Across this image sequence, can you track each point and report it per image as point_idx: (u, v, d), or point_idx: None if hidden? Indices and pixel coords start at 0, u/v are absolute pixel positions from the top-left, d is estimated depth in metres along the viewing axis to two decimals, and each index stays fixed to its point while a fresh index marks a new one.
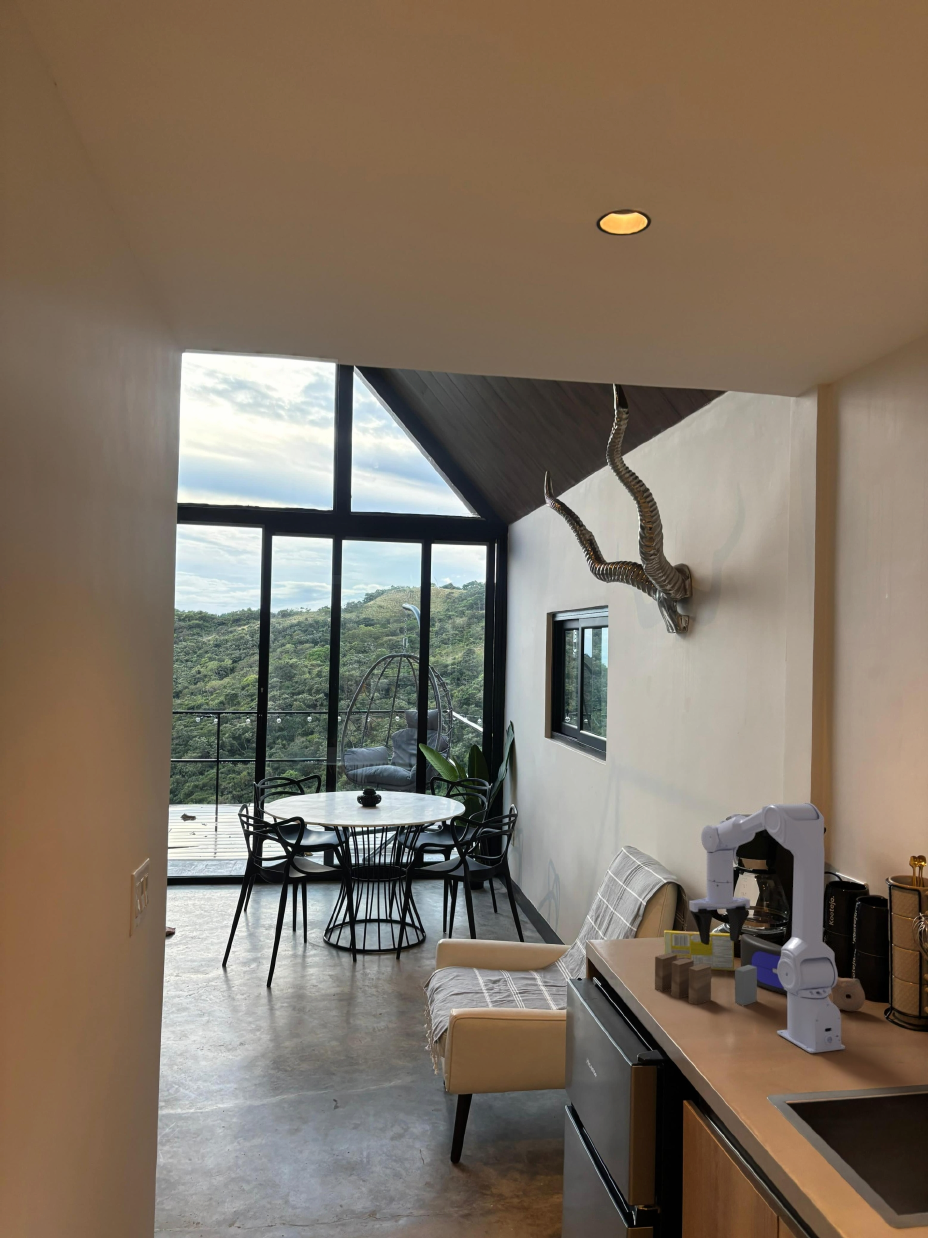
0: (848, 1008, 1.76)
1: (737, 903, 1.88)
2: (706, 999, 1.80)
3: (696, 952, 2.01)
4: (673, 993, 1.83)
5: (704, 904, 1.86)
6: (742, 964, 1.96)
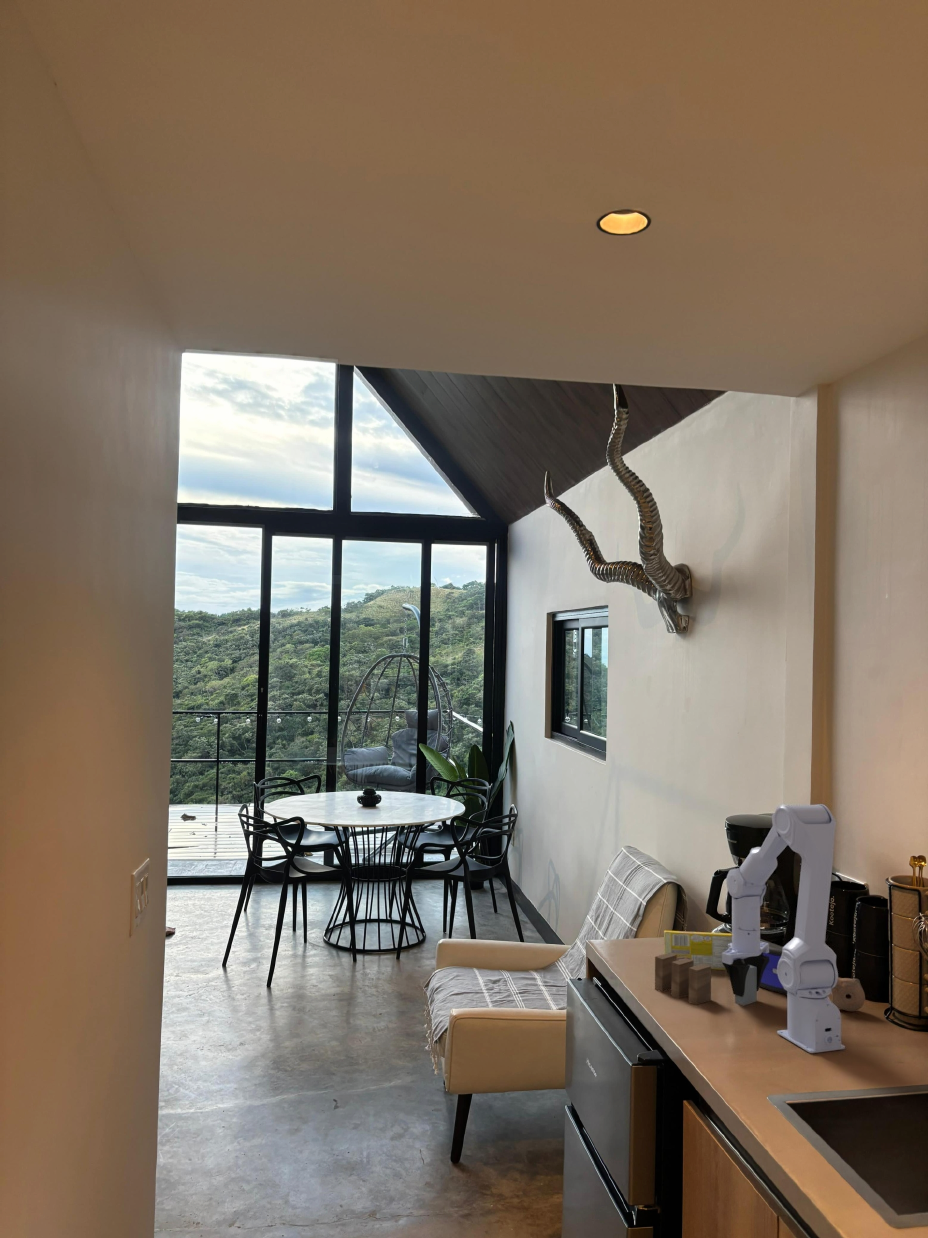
0: (848, 1008, 1.76)
1: (763, 950, 1.81)
2: (706, 999, 1.80)
3: (696, 952, 2.01)
4: (673, 993, 1.83)
5: (738, 955, 1.77)
6: None
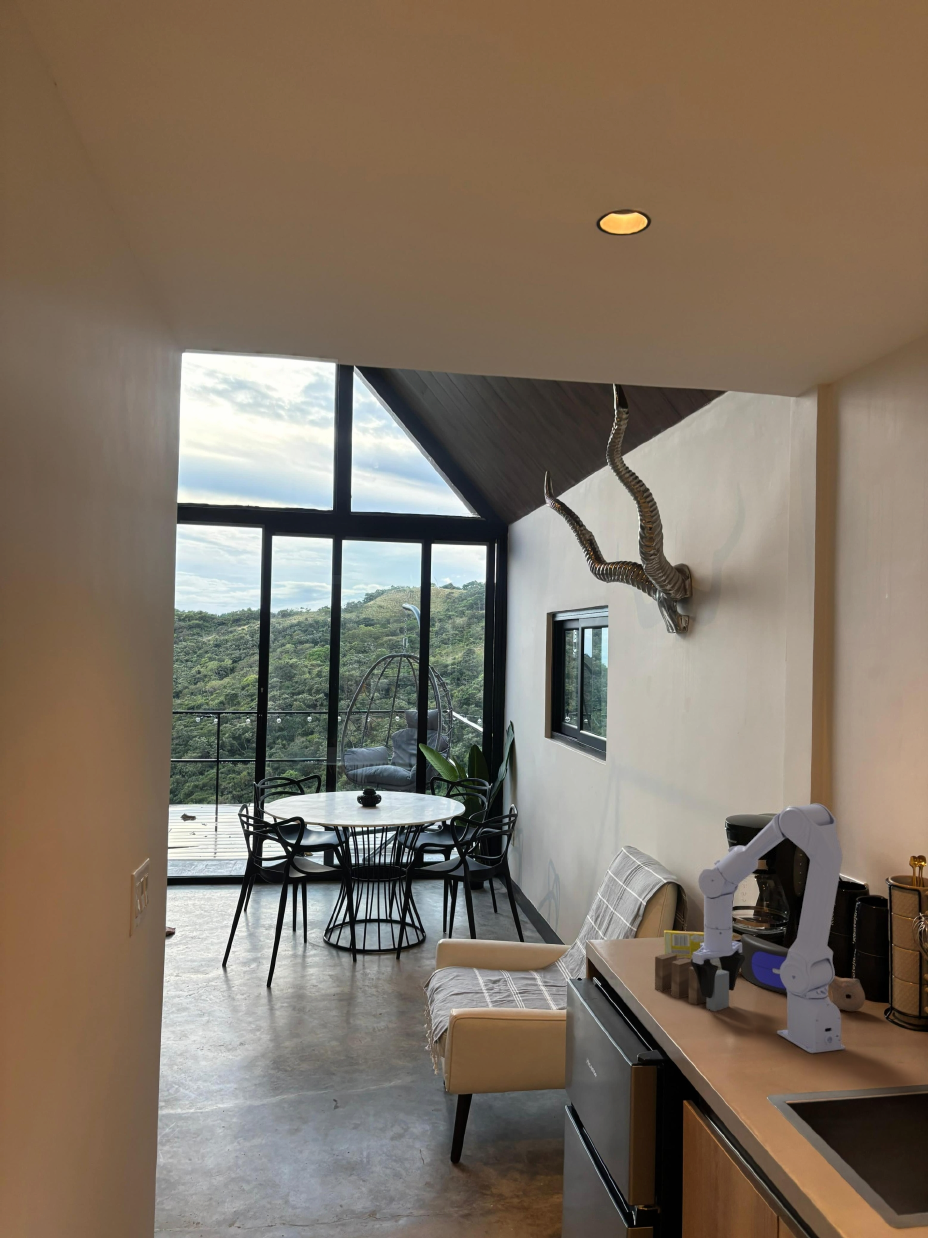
0: (848, 1008, 1.76)
1: (735, 949, 1.78)
2: (706, 999, 1.80)
3: None
4: (673, 993, 1.83)
5: (709, 955, 1.73)
6: (742, 964, 1.96)
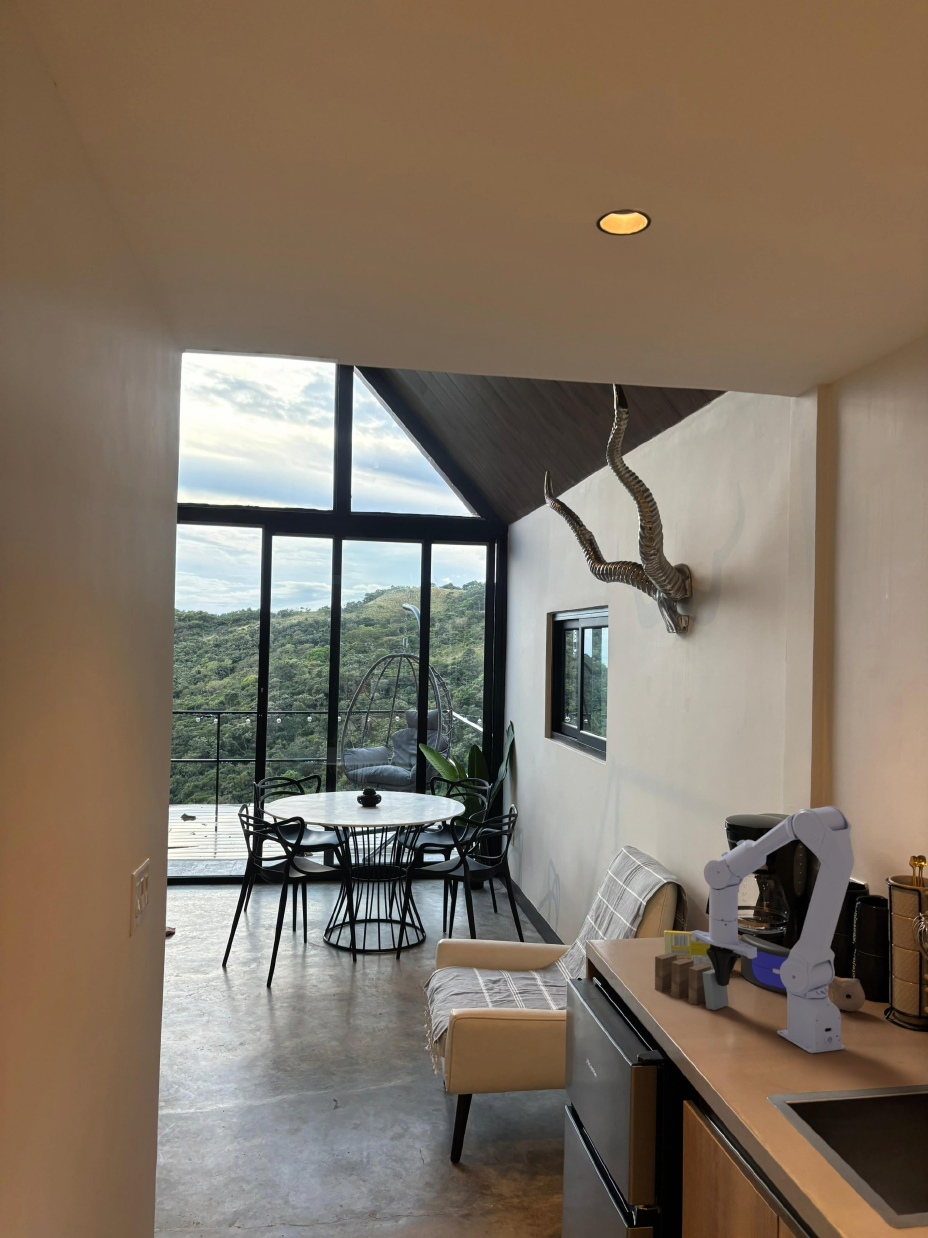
0: (848, 1008, 1.76)
1: (730, 946, 1.73)
2: None
3: (696, 952, 2.01)
4: (673, 993, 1.83)
5: (699, 936, 1.80)
6: (742, 964, 1.96)
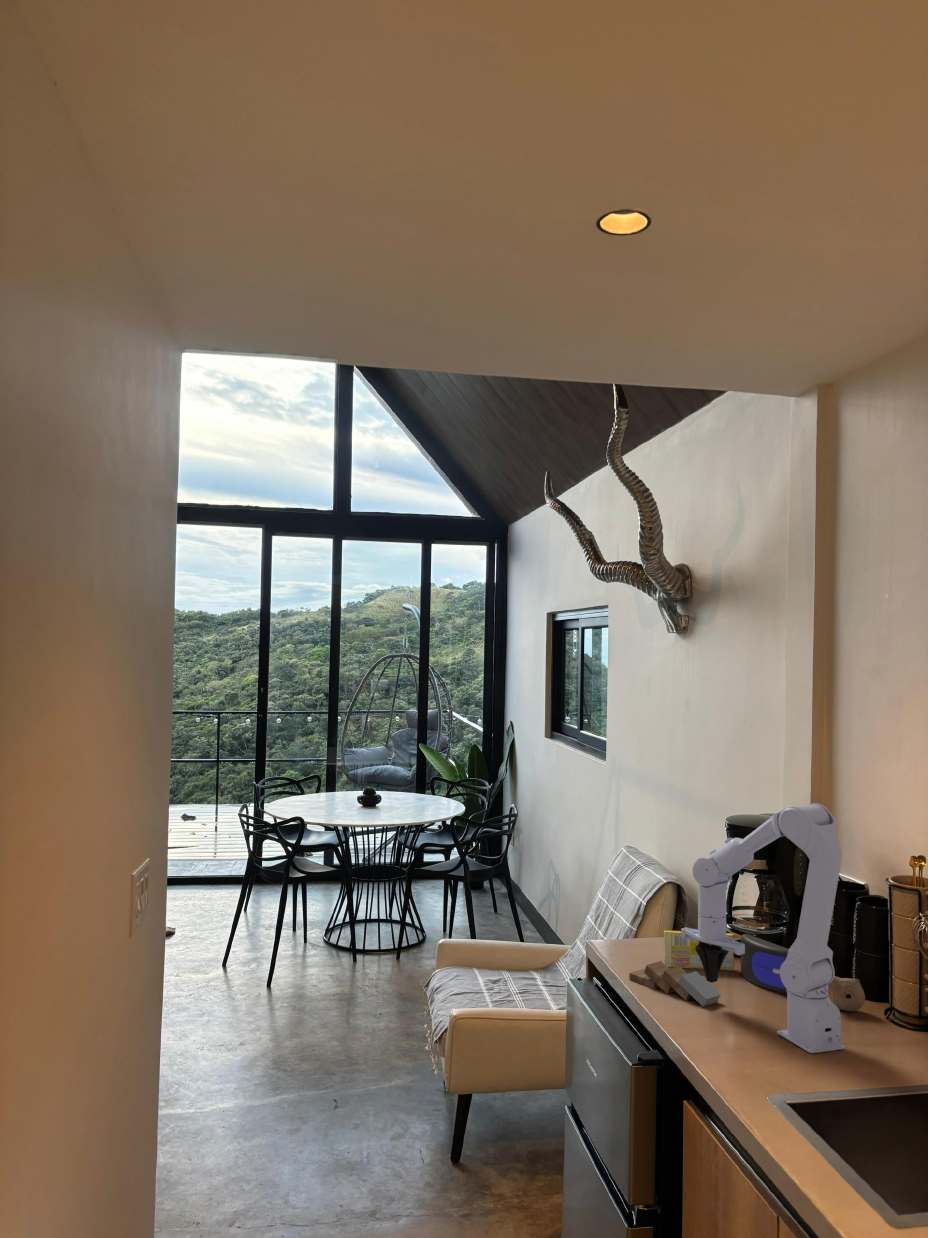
0: (848, 1008, 1.76)
1: (718, 943, 1.75)
2: None
3: (696, 952, 2.01)
4: (665, 989, 1.84)
5: (688, 933, 1.82)
6: (742, 964, 1.96)
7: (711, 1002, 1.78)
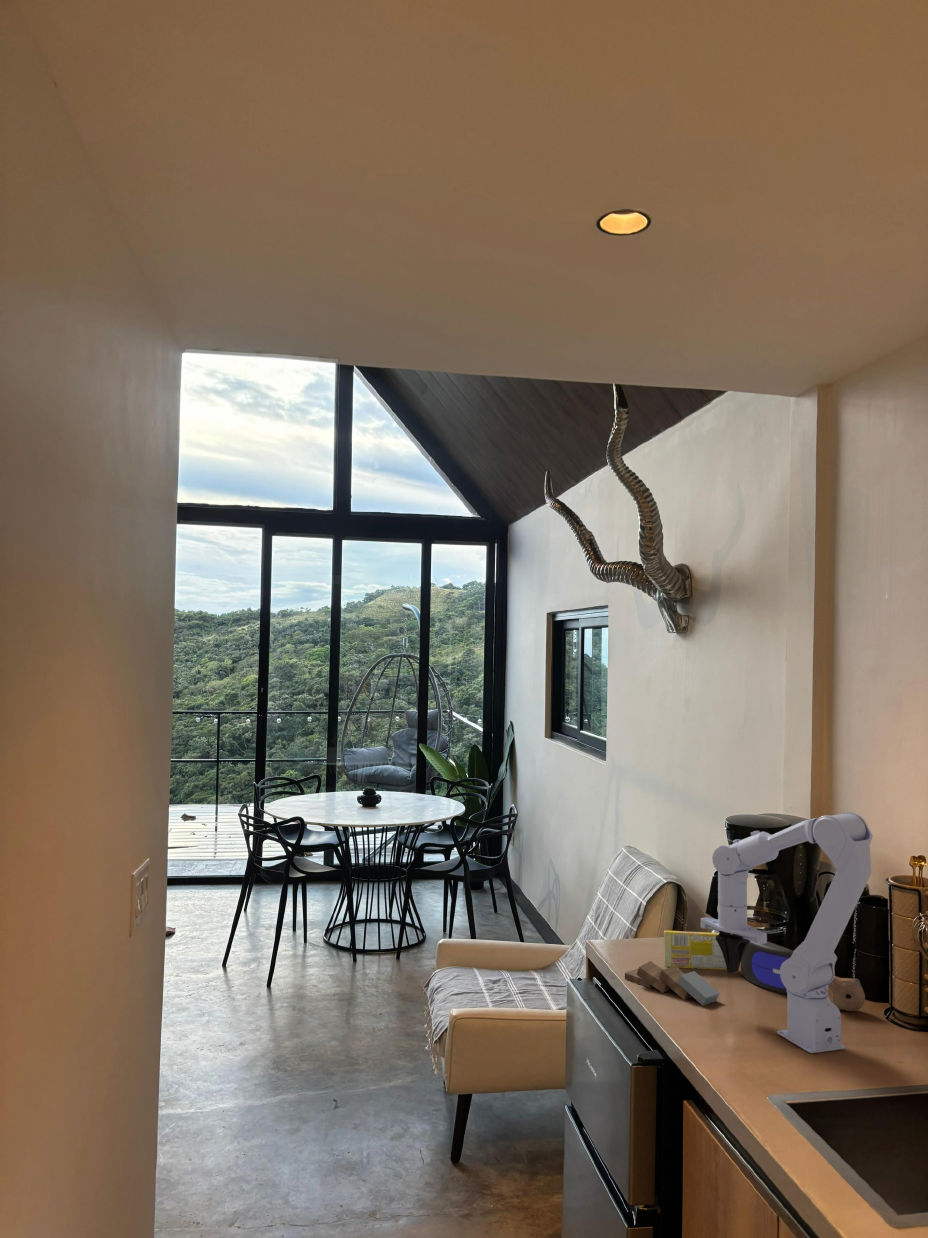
0: (848, 1008, 1.76)
1: (739, 932, 1.72)
2: None
3: (696, 952, 2.01)
4: (661, 989, 1.84)
5: (708, 922, 1.78)
6: (742, 964, 1.96)
7: (710, 1001, 1.79)
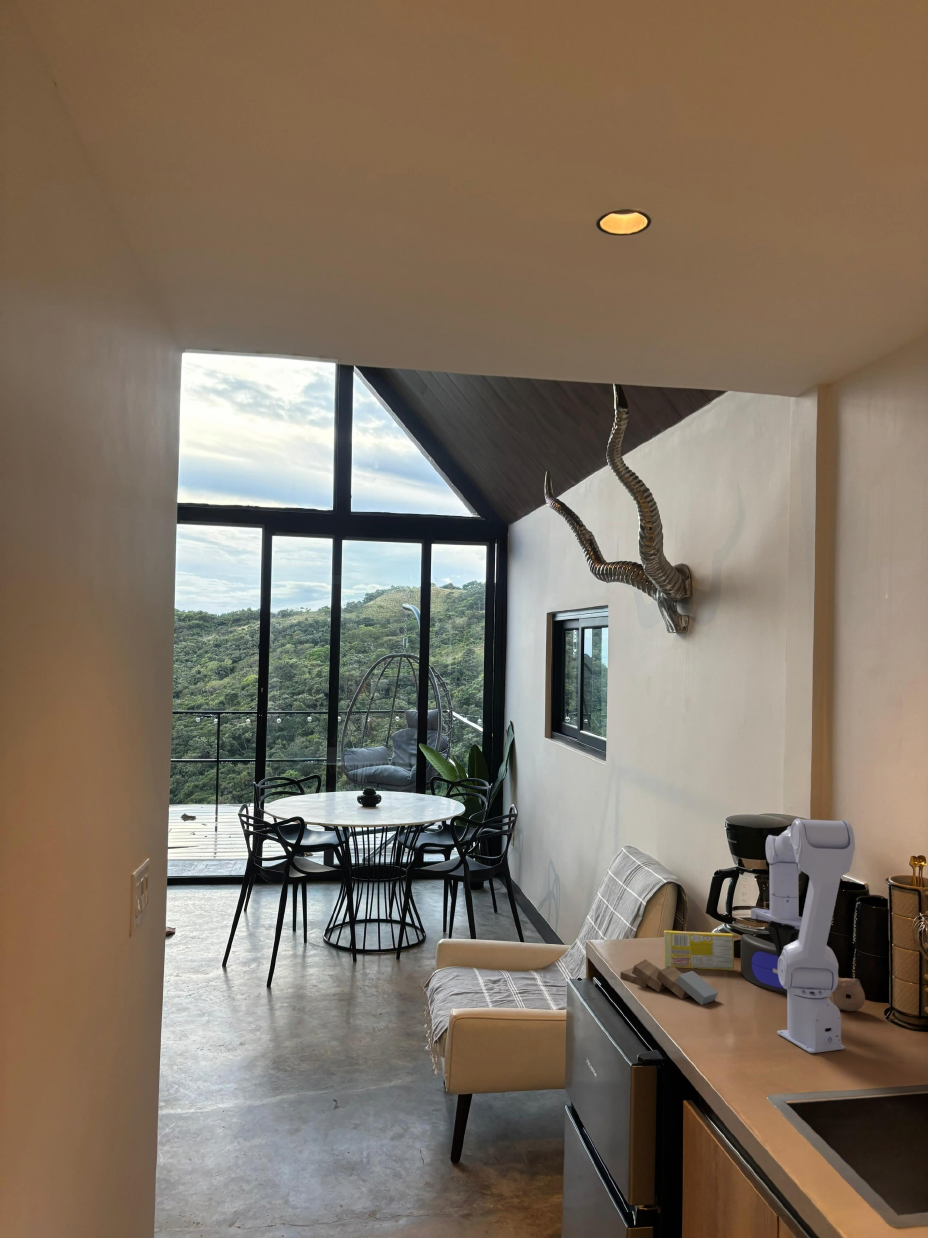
0: (848, 1008, 1.76)
1: (792, 922, 1.74)
2: None
3: (696, 952, 2.01)
4: (656, 988, 1.85)
5: (759, 913, 1.81)
6: (742, 964, 1.96)
7: (709, 1000, 1.79)
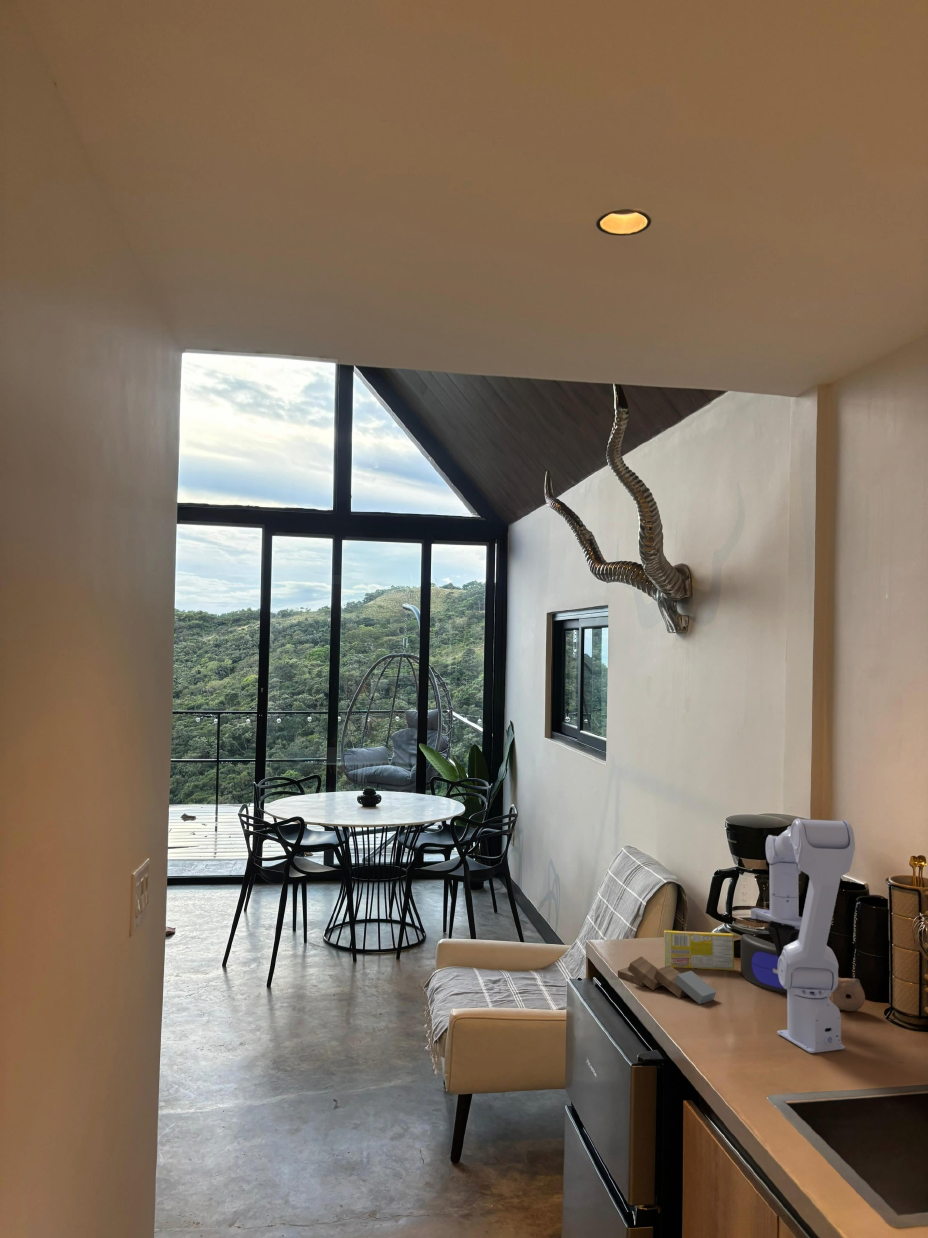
0: (848, 1008, 1.76)
1: (792, 922, 1.74)
2: None
3: (696, 952, 2.01)
4: (651, 986, 1.86)
5: (759, 913, 1.81)
6: (742, 964, 1.96)
7: (707, 999, 1.80)
